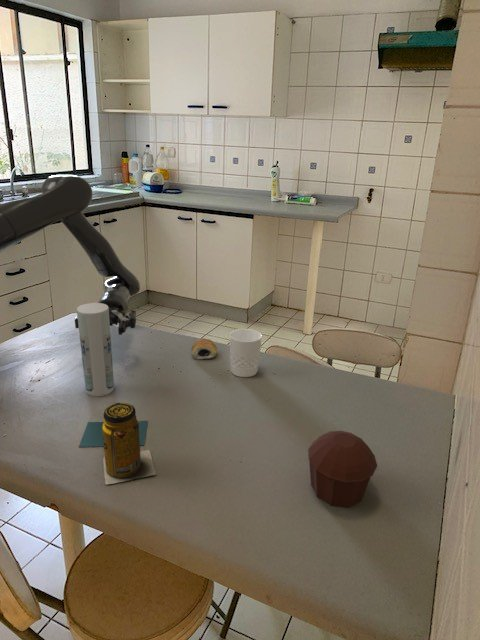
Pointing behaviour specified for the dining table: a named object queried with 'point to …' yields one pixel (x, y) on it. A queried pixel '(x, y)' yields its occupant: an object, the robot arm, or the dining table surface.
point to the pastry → (204, 349)
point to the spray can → (96, 348)
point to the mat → (95, 434)
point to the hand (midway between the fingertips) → (101, 331)
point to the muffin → (340, 468)
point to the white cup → (245, 352)
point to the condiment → (123, 446)
